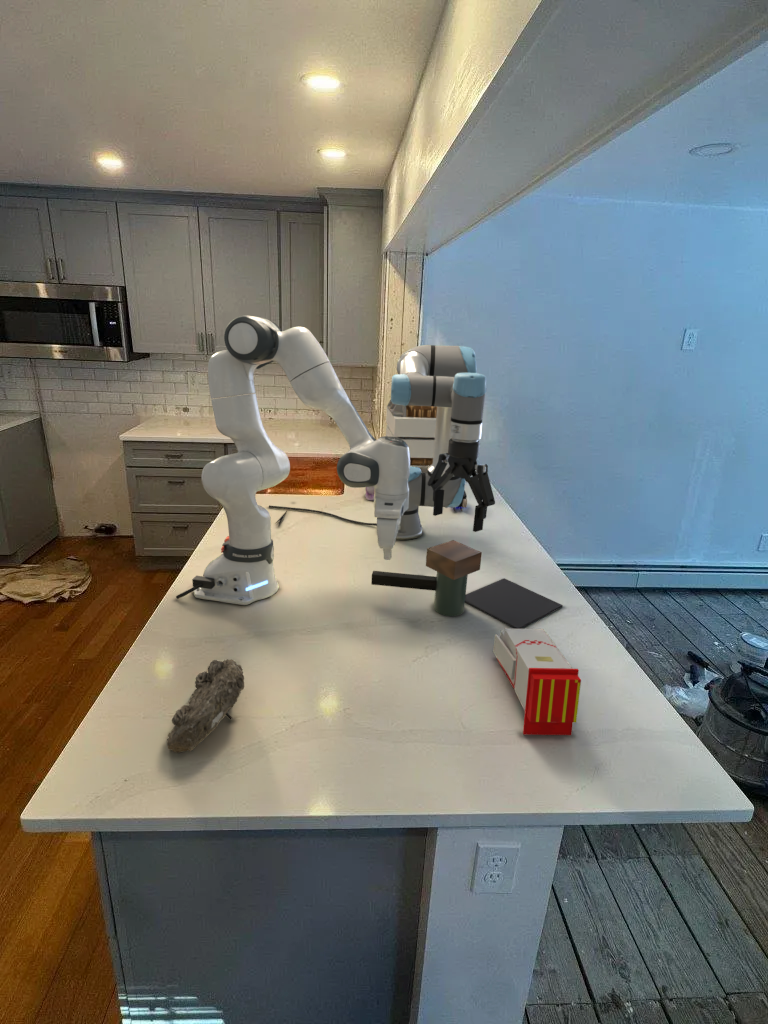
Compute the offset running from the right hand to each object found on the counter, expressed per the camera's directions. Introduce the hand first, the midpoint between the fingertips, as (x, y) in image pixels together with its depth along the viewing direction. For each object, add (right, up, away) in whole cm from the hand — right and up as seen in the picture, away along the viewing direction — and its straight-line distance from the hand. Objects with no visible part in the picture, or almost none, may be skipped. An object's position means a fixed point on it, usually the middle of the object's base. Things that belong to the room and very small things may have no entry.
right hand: (457, 522), depth 143 cm
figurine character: (+11, +4, +86) cm, 87 cm away
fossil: (-51, -36, -35) cm, 72 cm away
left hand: (-17, -8, +5) cm, 19 cm away
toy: (+12, -35, -23) cm, 44 cm away
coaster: (+16, -22, +13) cm, 30 cm away
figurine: (-22, +9, +94) cm, 97 cm away
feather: (-55, +2, +70) cm, 89 cm away
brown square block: (-1, -12, +4) cm, 13 cm away
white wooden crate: (-1, +21, +132) cm, 134 cm away
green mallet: (-9, -22, +9) cm, 26 cm away
